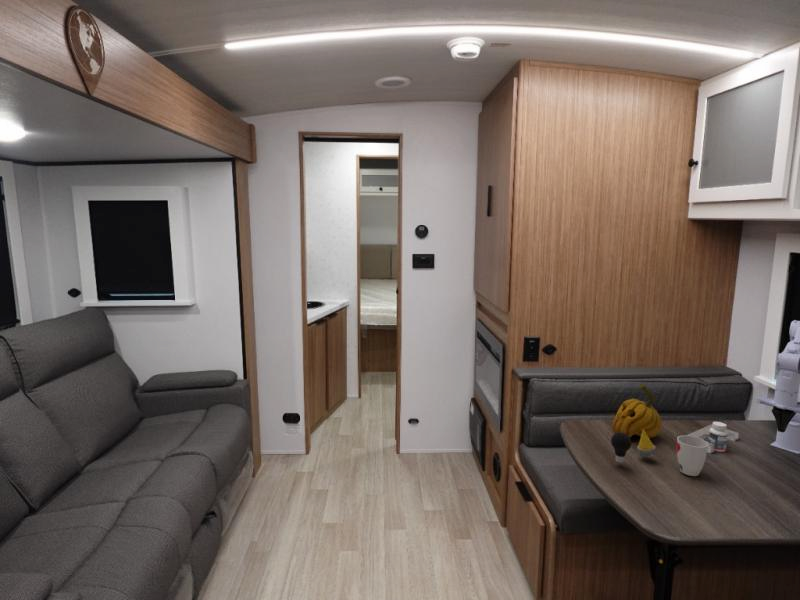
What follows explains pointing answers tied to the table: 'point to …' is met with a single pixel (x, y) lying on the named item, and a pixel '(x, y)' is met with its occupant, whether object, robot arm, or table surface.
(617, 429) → the pumpkin
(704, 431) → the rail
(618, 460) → the light bulb
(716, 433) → the pill bottle
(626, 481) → the table surface
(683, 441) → the cup
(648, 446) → the yellow cone
